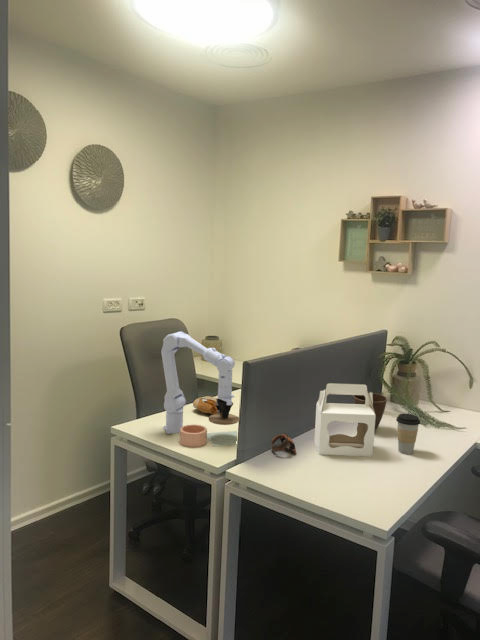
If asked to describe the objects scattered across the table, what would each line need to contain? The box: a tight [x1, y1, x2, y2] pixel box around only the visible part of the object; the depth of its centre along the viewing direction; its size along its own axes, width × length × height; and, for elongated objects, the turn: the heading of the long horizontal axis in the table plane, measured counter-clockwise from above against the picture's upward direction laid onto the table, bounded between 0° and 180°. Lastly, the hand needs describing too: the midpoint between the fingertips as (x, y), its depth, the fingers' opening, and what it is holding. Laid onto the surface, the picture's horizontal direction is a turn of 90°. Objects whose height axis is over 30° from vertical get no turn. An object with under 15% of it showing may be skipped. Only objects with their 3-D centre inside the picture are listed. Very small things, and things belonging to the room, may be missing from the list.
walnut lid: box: [208, 412, 240, 426], centre depth 214 cm, size 13×13×3 cm
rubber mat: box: [207, 430, 238, 447], centre depth 216 cm, size 15×15×1 cm
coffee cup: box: [395, 413, 421, 455], centre depth 209 cm, size 9×9×15 cm
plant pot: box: [353, 392, 388, 433], centre depth 233 cm, size 15×15×16 cm
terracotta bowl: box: [179, 424, 208, 448], centre depth 210 cm, size 11×11×6 cm
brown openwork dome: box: [270, 433, 297, 455], centre depth 205 cm, size 12×10×8 cm
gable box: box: [313, 382, 376, 457], centre depth 208 cm, size 22×13×28 cm, turn 90°
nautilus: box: [192, 395, 220, 415], centre depth 248 cm, size 8×22×15 cm
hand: (224, 416), depth 214 cm, fingers closed on walnut lid, 3 cm apart
